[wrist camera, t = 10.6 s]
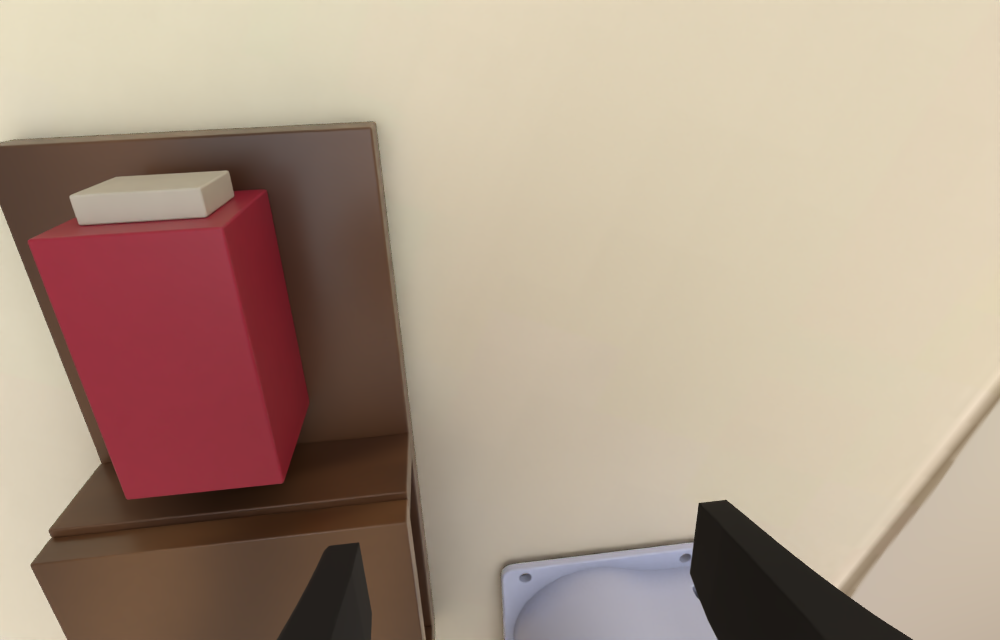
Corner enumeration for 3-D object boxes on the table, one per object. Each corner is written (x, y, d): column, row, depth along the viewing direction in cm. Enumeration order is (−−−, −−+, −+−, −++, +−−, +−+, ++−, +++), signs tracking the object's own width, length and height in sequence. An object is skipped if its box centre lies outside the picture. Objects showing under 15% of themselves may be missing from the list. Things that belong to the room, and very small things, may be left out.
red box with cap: (262, 162, 16) (214, 194, 12) (313, 421, 20) (288, 505, 16) (107, 171, 16) (12, 206, 12) (188, 433, 19) (133, 521, 16)
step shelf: (375, 121, 17) (356, 147, 12) (434, 619, 26) (437, 752, 21) (12, 139, 16) (-167, 176, 11) (199, 649, 25) (144, 796, 20)
